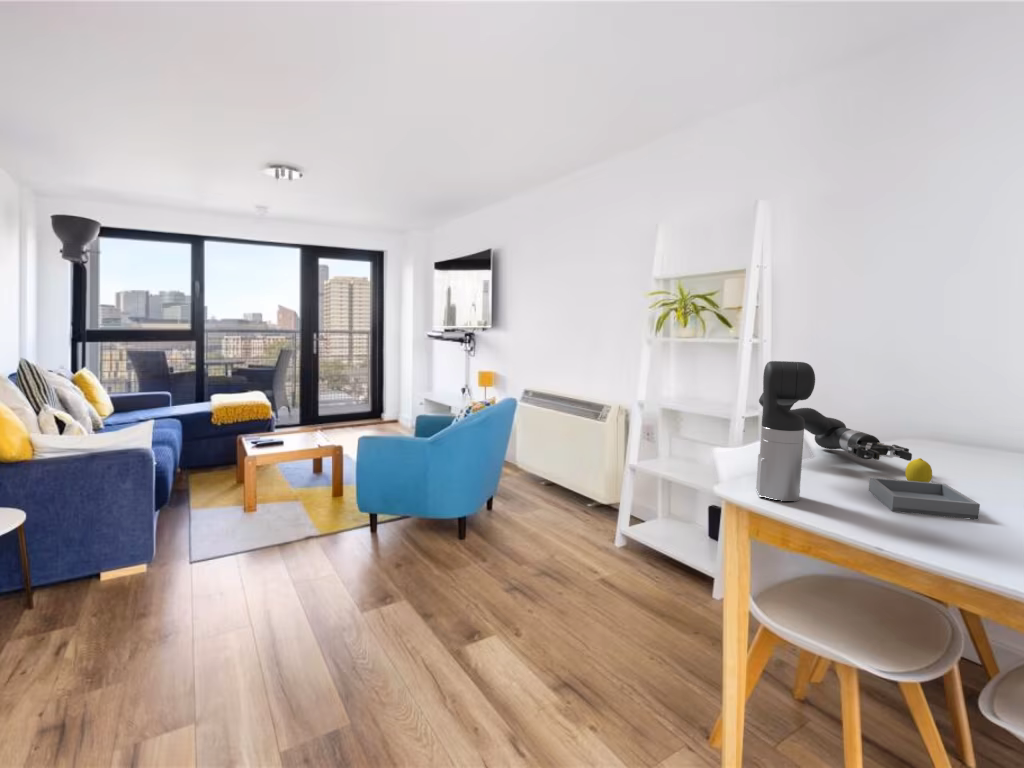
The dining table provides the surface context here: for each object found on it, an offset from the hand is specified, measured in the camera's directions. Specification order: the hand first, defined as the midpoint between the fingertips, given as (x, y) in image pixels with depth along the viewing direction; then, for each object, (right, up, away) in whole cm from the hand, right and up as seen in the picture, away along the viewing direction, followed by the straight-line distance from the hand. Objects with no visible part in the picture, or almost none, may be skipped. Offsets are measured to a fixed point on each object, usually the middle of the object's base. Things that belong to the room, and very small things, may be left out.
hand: (894, 456), depth 146 cm
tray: (-10, -8, -22) cm, 25 cm away
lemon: (-1, -7, -9) cm, 11 cm away
